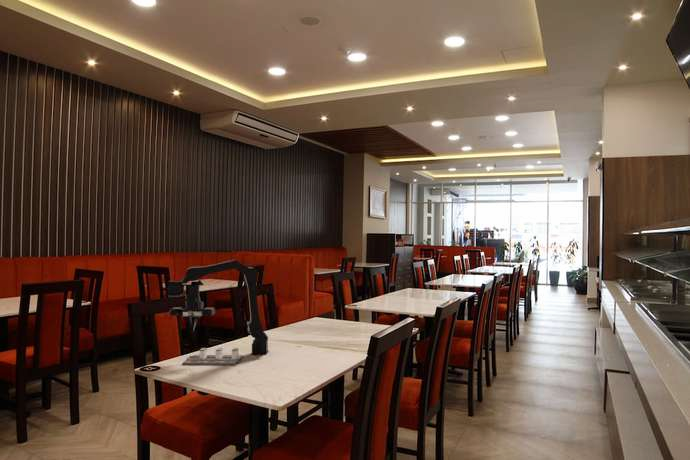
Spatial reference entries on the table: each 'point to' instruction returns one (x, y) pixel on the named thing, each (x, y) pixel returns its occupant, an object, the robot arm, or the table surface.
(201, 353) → the breaker
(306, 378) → the table surface
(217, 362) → the panel
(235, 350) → the breaker
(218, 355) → the breaker
